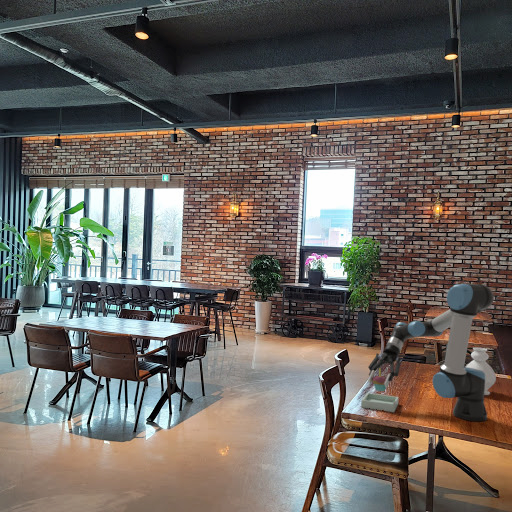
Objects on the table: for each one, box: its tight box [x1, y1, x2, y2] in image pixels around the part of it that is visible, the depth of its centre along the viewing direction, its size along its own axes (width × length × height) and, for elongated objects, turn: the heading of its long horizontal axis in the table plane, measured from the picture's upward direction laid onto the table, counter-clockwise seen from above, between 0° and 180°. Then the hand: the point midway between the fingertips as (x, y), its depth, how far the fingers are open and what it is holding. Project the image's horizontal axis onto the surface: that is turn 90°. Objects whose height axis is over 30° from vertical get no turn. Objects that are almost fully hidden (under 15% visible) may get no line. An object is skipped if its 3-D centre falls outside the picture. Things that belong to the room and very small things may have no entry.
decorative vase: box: [465, 347, 497, 396], centre depth 294 cm, size 18×18×25 cm
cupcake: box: [371, 367, 387, 392], centre depth 258 cm, size 9×8×12 cm
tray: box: [360, 392, 399, 413], centre depth 258 cm, size 16×16×4 cm
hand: (377, 383), depth 256 cm, fingers closed on cupcake, 8 cm apart
